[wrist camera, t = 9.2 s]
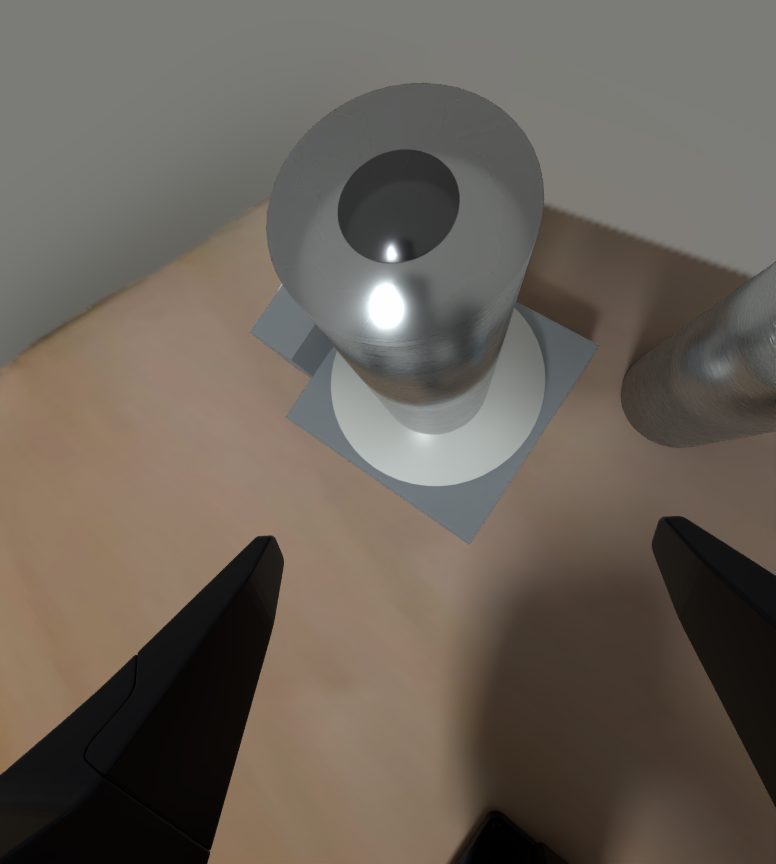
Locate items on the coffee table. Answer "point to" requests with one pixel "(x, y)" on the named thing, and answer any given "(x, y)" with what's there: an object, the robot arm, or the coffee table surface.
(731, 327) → the cylinder
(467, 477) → the scale
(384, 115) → the silver metal cylinder
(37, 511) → the coffee table surface
